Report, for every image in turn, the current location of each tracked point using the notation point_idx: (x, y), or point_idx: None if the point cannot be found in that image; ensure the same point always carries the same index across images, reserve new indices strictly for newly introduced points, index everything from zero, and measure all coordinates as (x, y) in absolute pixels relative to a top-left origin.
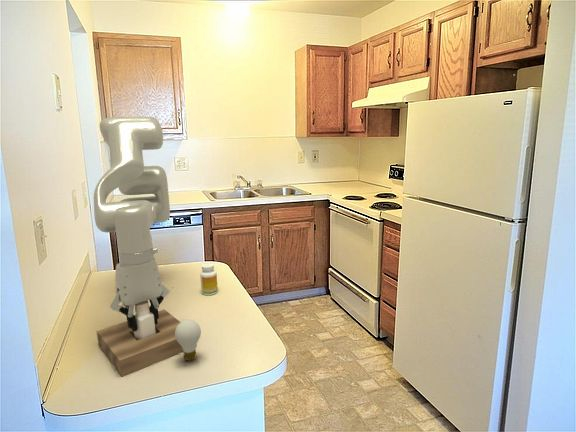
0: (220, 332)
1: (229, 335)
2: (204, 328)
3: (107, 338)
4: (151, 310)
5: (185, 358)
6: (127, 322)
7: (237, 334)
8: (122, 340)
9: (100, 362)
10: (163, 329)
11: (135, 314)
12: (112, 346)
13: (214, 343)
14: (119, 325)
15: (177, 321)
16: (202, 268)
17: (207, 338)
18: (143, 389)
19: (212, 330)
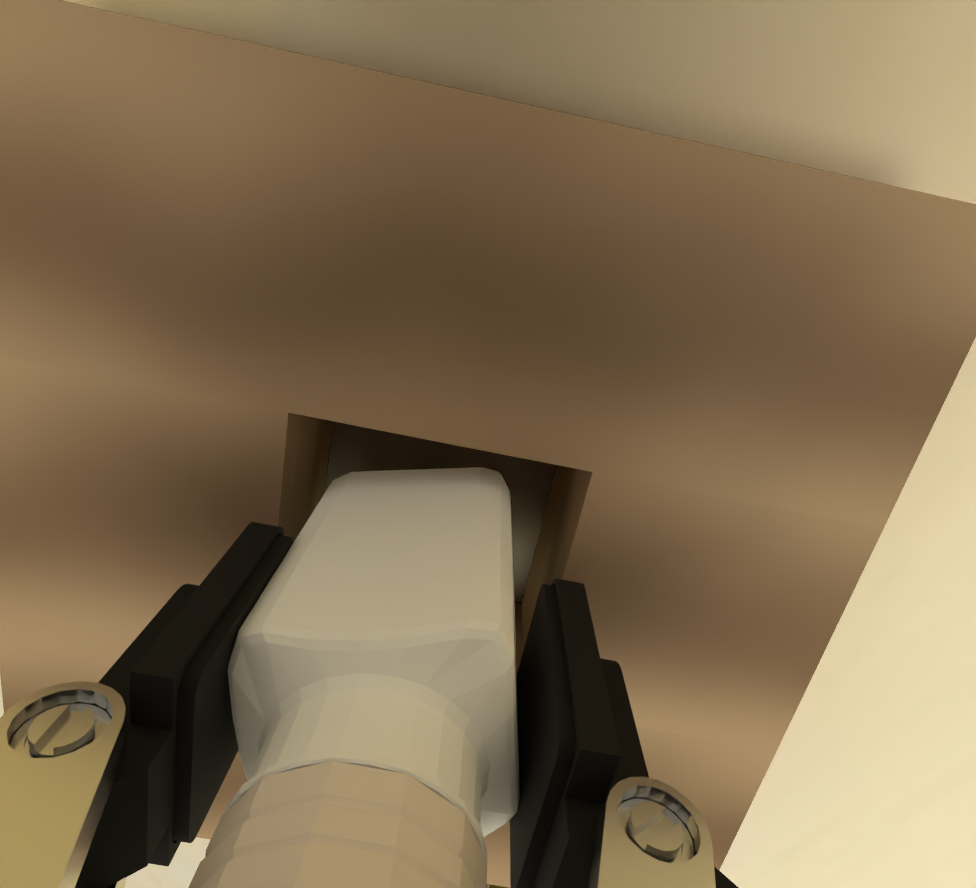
0: (933, 787)
1: (919, 856)
2: (941, 652)
3: (21, 354)
4: (532, 806)
5: (490, 886)
6: (159, 615)
7: (956, 885)
8: (148, 546)
9: None
10: None
11: (288, 666)
12: (24, 566)
13: (771, 848)
14: (274, 121)
15: (794, 667)
16: None
17: (806, 774)
18: (167, 868)
19: (937, 723)
